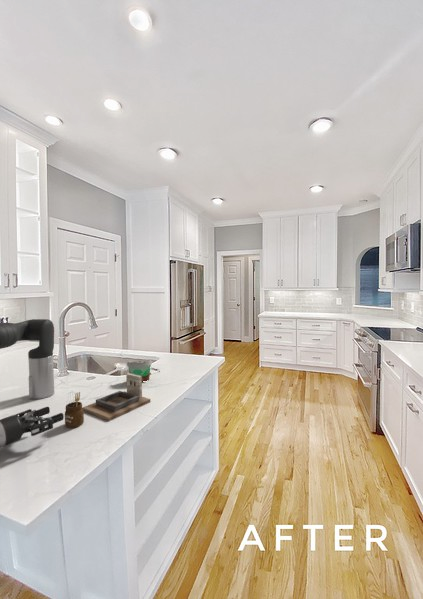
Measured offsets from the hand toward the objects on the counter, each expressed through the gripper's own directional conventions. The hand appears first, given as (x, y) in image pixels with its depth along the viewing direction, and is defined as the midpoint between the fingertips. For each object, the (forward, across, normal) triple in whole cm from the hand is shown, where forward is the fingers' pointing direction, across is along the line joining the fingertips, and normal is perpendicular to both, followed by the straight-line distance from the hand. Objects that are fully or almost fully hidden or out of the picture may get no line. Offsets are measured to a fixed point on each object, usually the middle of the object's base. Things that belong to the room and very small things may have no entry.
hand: (55, 412), depth 96 cm
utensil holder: (+6, 0, +7) cm, 9 cm away
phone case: (+65, +25, +8) cm, 70 cm away
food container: (+49, +14, +7) cm, 52 cm away
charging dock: (+24, 0, +7) cm, 25 cm away
